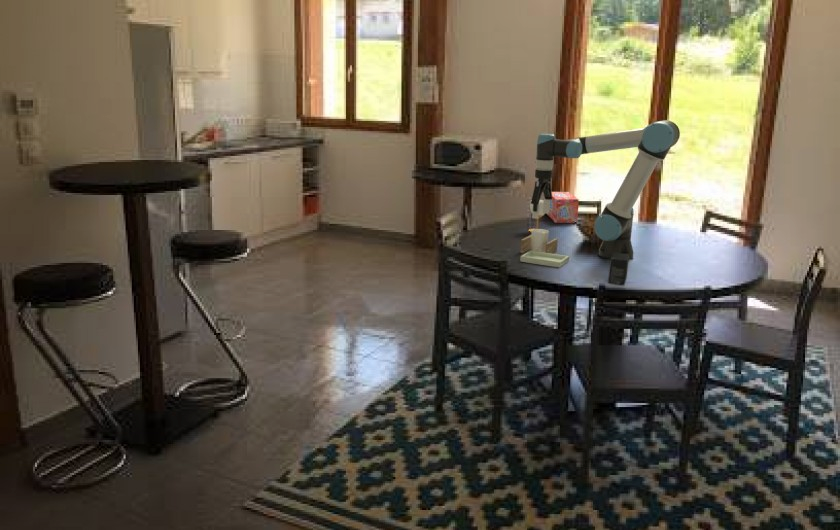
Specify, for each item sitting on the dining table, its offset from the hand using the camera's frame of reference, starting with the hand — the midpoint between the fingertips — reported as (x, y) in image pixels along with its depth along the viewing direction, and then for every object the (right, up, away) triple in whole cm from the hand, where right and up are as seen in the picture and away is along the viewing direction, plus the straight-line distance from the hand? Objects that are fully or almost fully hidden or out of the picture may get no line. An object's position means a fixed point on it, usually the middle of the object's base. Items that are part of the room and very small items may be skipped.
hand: (540, 215), depth 309 cm
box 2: (+24, -29, -38) cm, 53 cm away
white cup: (0, -16, +5) cm, 17 cm away
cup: (+6, -5, +46) cm, 46 cm away
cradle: (0, -16, +5) cm, 17 cm away
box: (+26, +4, +77) cm, 82 cm away
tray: (0, -21, -11) cm, 23 cm away
